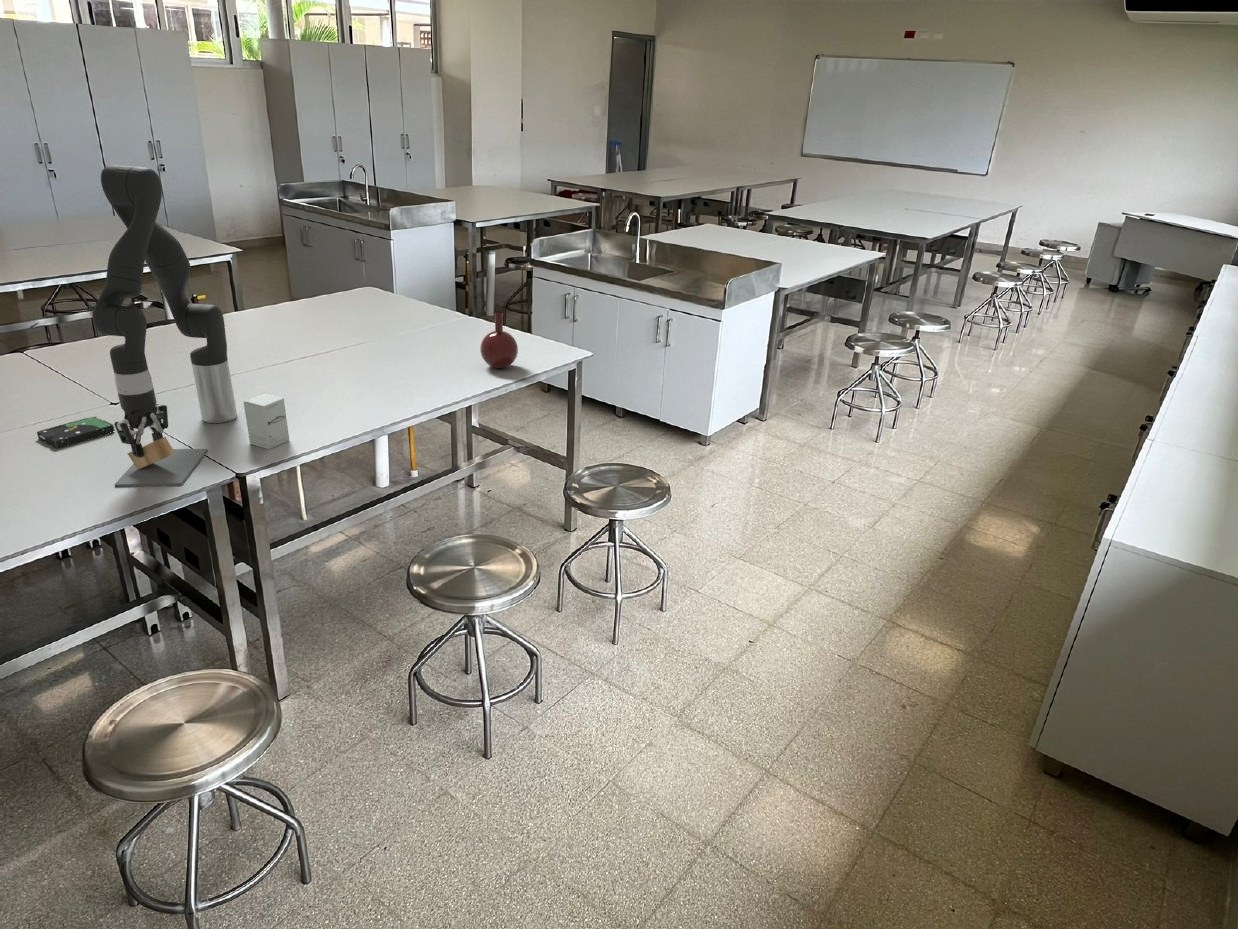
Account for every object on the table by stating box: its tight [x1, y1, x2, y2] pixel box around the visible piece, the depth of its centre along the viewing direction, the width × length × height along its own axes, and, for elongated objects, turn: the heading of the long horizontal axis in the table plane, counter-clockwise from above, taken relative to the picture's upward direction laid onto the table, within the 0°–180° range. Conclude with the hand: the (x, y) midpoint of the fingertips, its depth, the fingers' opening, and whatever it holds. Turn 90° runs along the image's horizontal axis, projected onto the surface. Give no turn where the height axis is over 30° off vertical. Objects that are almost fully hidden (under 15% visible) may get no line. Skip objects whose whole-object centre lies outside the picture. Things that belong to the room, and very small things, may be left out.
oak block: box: [127, 436, 175, 469], centre depth 196 cm, size 4×4×9 cm
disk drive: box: [36, 416, 116, 450], centre depth 214 cm, size 10×3×15 cm
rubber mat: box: [113, 448, 209, 487], centre depth 200 cm, size 20×15×1 cm
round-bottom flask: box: [479, 310, 519, 369], centre depth 278 cm, size 13×13×20 cm
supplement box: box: [243, 393, 290, 450], centre depth 214 cm, size 7×7×13 cm
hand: (149, 451), depth 196 cm, fingers open, 5 cm apart
